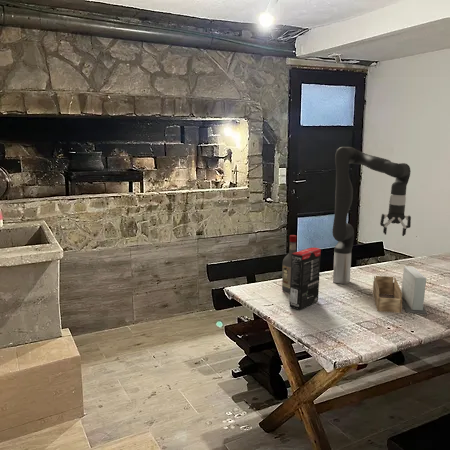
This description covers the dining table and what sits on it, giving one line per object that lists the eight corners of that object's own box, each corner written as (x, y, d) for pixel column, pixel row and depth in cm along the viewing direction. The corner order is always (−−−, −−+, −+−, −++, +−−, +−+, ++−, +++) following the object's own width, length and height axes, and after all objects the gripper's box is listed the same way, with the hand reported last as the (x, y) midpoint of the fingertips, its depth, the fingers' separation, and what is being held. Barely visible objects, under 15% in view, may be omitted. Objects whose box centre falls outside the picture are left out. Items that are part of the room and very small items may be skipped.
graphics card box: (307, 298, 229) (309, 246, 224) (319, 301, 225) (321, 248, 220) (288, 307, 217) (290, 252, 212) (301, 311, 212) (302, 254, 207)
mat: (406, 312, 209) (406, 311, 209) (398, 295, 233) (398, 294, 233) (427, 314, 207) (427, 313, 207) (417, 296, 231) (417, 295, 231)
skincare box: (424, 311, 210) (426, 278, 207) (412, 310, 210) (414, 277, 208) (411, 295, 230) (413, 265, 228) (400, 295, 231) (402, 265, 228)
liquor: (292, 286, 248) (293, 233, 242) (304, 291, 240) (305, 236, 235) (279, 289, 243) (280, 235, 238) (291, 294, 235) (292, 238, 230)
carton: (377, 311, 211) (378, 291, 210) (372, 292, 237) (373, 275, 235) (401, 313, 209) (402, 293, 207) (394, 294, 235) (395, 276, 233)
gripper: (382, 203, 224) (380, 235, 228) (413, 205, 221) (410, 237, 224) (381, 201, 232) (378, 232, 235) (411, 203, 228) (408, 234, 232)
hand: (394, 235), depth 230 cm, fingers open, 8 cm apart
